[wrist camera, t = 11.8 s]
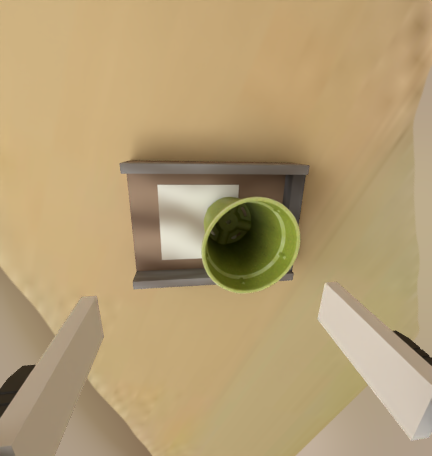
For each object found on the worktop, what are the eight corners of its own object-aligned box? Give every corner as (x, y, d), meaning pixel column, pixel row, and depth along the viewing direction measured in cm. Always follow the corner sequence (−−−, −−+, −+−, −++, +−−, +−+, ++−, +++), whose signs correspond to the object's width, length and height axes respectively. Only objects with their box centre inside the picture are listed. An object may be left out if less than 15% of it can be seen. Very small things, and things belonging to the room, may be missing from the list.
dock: (129, 160, 27) (119, 163, 23) (291, 162, 30) (309, 165, 26) (140, 270, 32) (133, 289, 28) (279, 263, 35) (292, 280, 30)
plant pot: (242, 166, 27) (276, 175, 19) (274, 229, 31) (314, 258, 23) (174, 210, 27) (180, 237, 19) (215, 267, 31) (234, 310, 23)
